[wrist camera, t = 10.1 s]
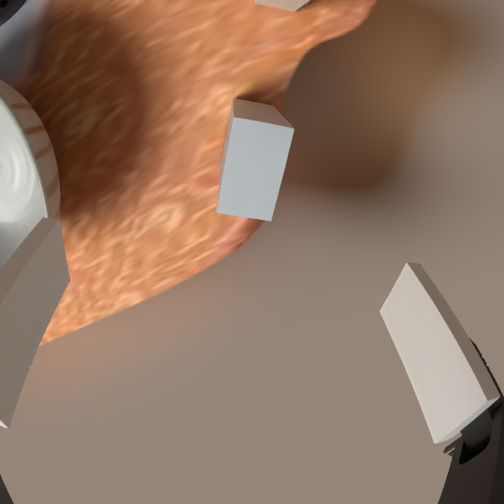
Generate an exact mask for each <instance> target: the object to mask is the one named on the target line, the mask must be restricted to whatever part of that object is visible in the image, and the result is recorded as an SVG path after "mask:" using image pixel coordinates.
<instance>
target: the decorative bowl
mask: <svg viewBox="0 0 504 504" xmlns="http://www.w3.org/2000/svg"><path fill="white" fill-rule="evenodd" d="M43 217H44V218H53V219H60V181H59V173H58V167H57V162H56V157H55V153H54V150H53V147H52V144H51V141H50V138H49V136H48V133H47V131H46V129H45V127H44V125H43V123H42V121H41V120H40V118H39V116H38V115H37V113H36V112H35V110H34V109H33V108H32V106H31V105H30V104H29V103H28V102H27V100H26V99H25V98H24V97H23V96H22V95H21V94H20V93H19V92H17V91H16V90H15V89H14V88H12V87H11V86H10V85H8V84H7V83H5V82H4V81H2V80H0V271H1V269H2V268H3V266H4V265H5V264H6V262H7V261H8V260H9V258H10V257H11V256H12V254H13V253H14V252H15V251H16V249H17V248H18V247H19V246H20V244H21V243H22V242H23V241H24V239H25V238H26V237H27V236H28V234H29V233H30V232H31V231H32V230H33V228H34V227H35V226H36V225H37V224H38V223H39V221H40V220H41V219H42V218H43Z"/></svg>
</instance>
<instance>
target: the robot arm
mask: <svg viewBox="0 0 504 504" xmlns="http://www.w3.org/2000/svg"><path fill="white" fill-rule="evenodd" d="M24 2H25V0H0V25H2V24H3V23H4V22H6V21H7V20H8V19H9V18H10V17H11V16H12V15H13V14H14V13H15V12H16V11H17V10H18V9H19V8H20V7H21V5H22V4H23V3H24ZM69 282H70V276H69V271H68V265H67V260H66V254H65V248H64V242H63V236H62V229H61V221H60V219H53V218H44V217H43V218H42V219H41V220H40V221H39V223H38V224H37V225H36V226H35V227H34V228H33V230H32V231H31V232H30V233H29V234H28V236H27V237H26V238H25V239H24V241H23V242H22V243H21V244H20V246H19V247H18V248H17V249H16V251H15V252H14V253H13V254H12V256H11V257H10V258H9V260H8V261H7V262H6V264H5V265H4V266H3V268H2V269H1V271H0V425H1V426H3V427H6V428H8V429H9V427H10V423H11V420H12V417H13V414H14V411H15V407H16V405H17V402H18V398H19V396H20V392H21V390H22V387H23V385H24V382H25V379H26V376H27V374H28V371H29V369H30V366H31V364H32V361H33V359H34V356H35V354H36V351H37V349H38V347H39V344H40V342H41V340H42V337H43V335H44V333H45V331H46V328H47V326H48V324H49V322H50V320H51V318H52V316H53V313H54V311H55V309H56V307H57V305H58V303H59V301H60V299H61V297H62V295H63V293H64V291H65V289H66V287H67V285H68V283H69ZM380 313H381V315H382V318H383V320H384V322H385V324H386V326H387V328H388V330H389V333H390V335H391V337H392V339H393V341H394V344H395V346H396V348H397V350H398V353H399V355H400V357H401V359H402V362H403V364H404V366H405V369H406V371H407V374H408V376H409V378H410V381H411V383H412V386H413V388H414V391H415V393H416V395H417V398H418V401H419V403H420V406H421V408H422V411H423V413H424V416H425V419H426V421H427V424H428V427H429V430H430V433H431V435H432V438H433V441H434V444H436V443H439V442H443V441H446V440H449V439H450V438H451V437H453V436H454V435H456V434H457V433H458V432H460V431H461V434H462V436H461V437H460V438H458V439H457V440H455V441H454V442H453V443H451V444H450V445H449V446H447V447H446V448H445V450H444V453H447V452H448V451H449V450H451V449H452V448H454V447H455V449H454V450H453V451H451V452H450V453H449V454H448V455H450V456H452V461H451V465H450V468H449V472H448V475H447V478H446V481H445V485H444V488H443V491H442V494H441V497H440V499H439V502H438V504H504V396H503V395H502V392H501V390H500V388H499V386H498V384H497V382H496V380H495V378H494V377H493V375H492V373H491V371H490V369H489V367H488V366H486V362H485V360H484V358H482V355H481V353H480V351H479V349H478V348H477V346H476V344H474V342H473V341H472V340H471V339H470V338H469V337H468V335H467V334H466V332H465V330H464V329H463V327H462V325H461V324H460V322H459V321H458V319H457V317H456V316H455V314H454V313H453V311H452V310H451V308H450V307H449V305H448V303H447V302H446V300H445V299H444V297H443V296H442V295H441V293H440V291H439V290H438V289H437V287H436V285H435V284H434V283H433V281H432V280H431V278H430V277H429V275H428V274H427V273H426V271H425V270H424V268H423V267H422V266H421V264H417V263H409V262H407V263H406V265H405V267H404V269H403V271H402V272H401V274H400V276H399V278H398V280H397V282H396V284H395V285H394V287H393V289H392V291H391V293H390V294H389V296H388V298H387V300H386V301H385V303H384V305H383V307H382V309H381V310H380ZM0 504H14V503H13V501H12V499H11V497H10V495H9V493H8V491H7V489H6V487H5V484H4V482H3V480H2V478H1V475H0Z"/></svg>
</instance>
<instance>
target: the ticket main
mask: <svg viewBox="0 0 504 504" xmlns="http://www.w3.org/2000/svg"><path fill="white" fill-rule="evenodd" d="M309 1H310V0H255V1H254V3H255V4H260V5H265V6H270V7H275V8H279V9H284V10H288V11H292V12H295V11H296V10H297V11H299V10H300V9H301V8H302V6H303V5H304V6H306V5H307V4H309Z"/></svg>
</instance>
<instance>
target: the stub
mask: <svg viewBox="0 0 504 504" xmlns="http://www.w3.org/2000/svg"><path fill="white" fill-rule="evenodd" d="M293 133H294V128H293V127H292V125H291V124H290V123H289V122H288V121H287V120H286V119H285V118H284V117H283V116H282V115H281V113H280V112H279V111H278V110H277V109H276V108H275V107H274V106H273V105H268V104H263V103H258V102H252V101H247V100H241V99H235V98H233V102H232V107H231V112H230V117H229V122H228V127H227V133H226V138H225V144H224V149H223V155H222V160H221V169H220V179H219V190H218V201H217V213H220V214H227V215H234V216H241V217H248V218H255V219H261V220H268V221H271V219H272V215H273V211H274V207H275V204H276V200H277V196H278V192H279V188H280V184H281V180H282V176H283V172H284V168H285V165H286V161H287V157H288V153H289V149H290V145H291V140H292V137H293Z"/></svg>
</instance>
